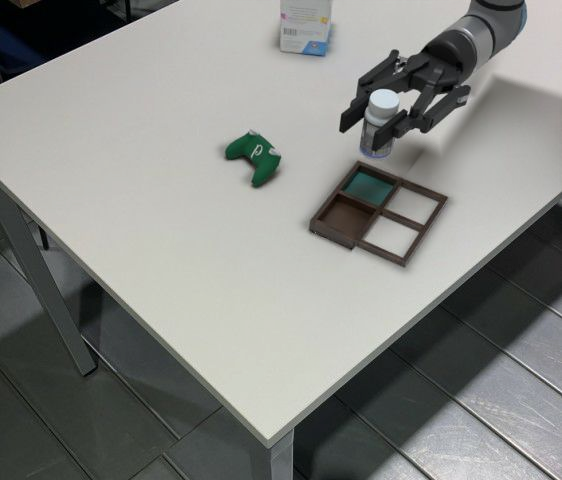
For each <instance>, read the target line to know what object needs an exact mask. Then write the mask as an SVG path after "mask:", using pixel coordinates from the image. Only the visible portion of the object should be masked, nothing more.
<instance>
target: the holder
mask: <svg viewBox="0 0 562 480" xmlns="http://www.w3.org/2000/svg"><path fill="white" fill-rule="evenodd" d="M401 188H405V189H407V190H410V191H412V192H415V193H416V194H420V195H422V196H424V197H426V198H429V199H431V200H434V201H437V202H438V203H437V205H436V206H435V208H434V209H433V211H432V212H431V214H430V216H429V217H428V219H427V220H426V221H425V223H424V224H422V223H420V222H418V221H416V220H413V219H411V218H408V217H406V216H404V215H403V214H399V213H396V212H395V211H392V210H390V209H387V208H388V206H389V205H390V203H391V202H392V200H393V199H394V197H395V196H396V195H397V194H398V192H399V190H400V189H401ZM449 199H450V198H449V196H448V195H444V194H442V193H441V192H438V191H435V190H433V189H430V188H428V187H425V186H423V185H420V184H419V183H415V182H413V181H411V180H409V179H405V178H403V177H400V176H398V175H396V174H393V173H391V172H388V171H386V170H384V169H381V168H378V167H377V166H373V165H371V164H369V163H366V162H365V161H361V160H356V161H355V163H354V164H353V166H351V168H350V169H349V171H348V172H347V173H346V175H344V177H343V178H342V180H341V181H340V182H339V183H338V184H337V186H336V187H335V188H334V190H332V191H331V194H330V195H328V197H327V198H326V200H324V202H323V203H322V204H321V206H320V207H319V208H318V209H317V211H316V212H315V214H313V216H312V217H311V218H310V220H309V224H308V225H309V227H308V231H309V230H311V231H310V232H312V231H313V232H312V233H314V232H316V233H318V234H320V235H319V236H321V235H322V236H321V237H323V236H324V237H323V238H325V237H327V238H329V239H328V240H330V239H331V240H330V241H332V240H333V241H332V242H334V241H336V242H338V243H340V244H339V245H341V244H342V245H341V246H343V245H345V246H347V247H349V248H348V249H350V248H352V249H353V250H354V249H355V248H356V247H358V248H360V249H363V250H365V251H367V252H369V253H371V254H374V255H375V256H378V257H381V258H383V259H385V260H388V261H390V262H392V263H394V264H397V265H398V266H401V267H403V268H405V267H406V266H407V265H408V263H409V261H410V260H411V258H412V257H413V255H414V254H415V252H416V250H417V249H418V247H419V246H420V244H421V243H422V242H423V240H424V239H425V237H426V235H427V233H428V232H429V230H430V229H431V227H432V226H433V224H434V223H435V221H436V220H437V219H438V216H439V215H440V214H441V212H442V210H443V209H444V207H445V206H446V204H447V203H448V201H449ZM380 217H384V218H385V219H389V220H390V221H392V222H394V223H397V224H399V225H403V226H404V227H406V228H409V229H412V230H414V231H416V232H418V234H417V235H416V237H415V238H414V239H413V241H412V243H411V245H410V246H409V248H408V249H407V251H406V252H405V254H404V255H403V256H401V255H399V254H396V253H393V252H392V251H389V250H387V249H384V248H382V247H380V246H377V244H373V243H372V242H369V241H367V240H365V238H366V237H367V235H368V234H369V233H370V231H371V230H372V228H373V227H374V226H375V224H376V223H377V221H378V220H379V219H380ZM316 233H315V234H316ZM318 234H317V235H318ZM327 238H326V239H327ZM336 242H335V243H336ZM338 243H337V244H338ZM345 246H344V247H345ZM347 247H346V248H347ZM352 249H351V250H352Z"/></svg>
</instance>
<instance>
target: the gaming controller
mask: <svg viewBox="0 0 562 480" xmlns="http://www.w3.org/2000/svg"><path fill="white" fill-rule="evenodd" d="M224 154H225V156H226V158H227V159H229V160H231V159H236V158H238V157H241V156H243V155H245V156H246V157H247V158H248V159H249V160H250V161H251V162H252V163H253V164H254V165H255V166H256V169H255V171H254V172H253V176H252V178H251V180H250V182H251V183H252V184H253V185H254V186H255V187H257V186H259V185H261V184H262V183H264V182H265V181H266V180H268V179H269V178H270V177H271V176H272V175H273V174H274V173H275V172H276V170H277V169H278V167H279V166H280V162H281V159H282V155H281V152H280V151H279V150H278V149H276V147H274V145H273V144H271V143H270V142H269V141H268V139H266V138H265V137H264V136H262V135H261V133H260V132H259V131H257V130H256V129H254V128H249V131H248V132H246V133H245V134H244V135H242V136H240V137H238V138H236V139H235V140H233V141H232V142H230V143H229V144H228V145H227V146H226V148H225V151H224Z"/></svg>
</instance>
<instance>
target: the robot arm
mask: <svg viewBox="0 0 562 480" xmlns="http://www.w3.org/2000/svg"><path fill="white" fill-rule="evenodd" d="M527 20H528V7H527V3H526V0H470V3H469V6H468V10H467V11H466V13H465V14H464V15H463V16H461V17H460V18H459V19H457V20H456V21H455V22H453V23H452V24H450V25H449V26H448V27H446V28H445V29H443V31H441V32H440V33H439V34H438V35H436V36H435V37H434V38H432V39H431V40H430V41H428V42H427V43H426V44H425V45H424V46H423V48H422V49H420V51H419V52H418V53H415V54H411V55H410V56H409V57H405V56H401V55H400V51H399V50H398V49H396V48H393V49H392V50H390V52H389V54H388V56H387V57H386V58H384V59H383V60H382V61H380V62H379V63H378V64H376V65H375V66H374V67H373V68H371V69H370V70H369V71H367V72H366V73H365V74H363V75H362V76H360V77H359V78H358V79H357V86H356V94H355V98H353V99H352V100H351V101H350V104H349V107H348V108H347V109H345V110H344V111H342V113H340V120H339V127H338V132H339V133H341V134H345V133H346V132H348V131H349V130H350V129H351V128H353V127H354V126H355V125H357V123H359V122H361V120H364V114H365V110H366V108H367V107H368V106H369V99H370V96H371V94H372V93H373V92H374V91H376V90H379V89H387V90H391V91H393V92H395V93H396V94H397V95H398V94H400V93H402V92H403V93H404V94H407V93H408V92H411V91H418V92H419V95H418V97H417V99H416V100H415V102H414V103H413V104H412V105H411V104H410V108H409V110H407V109H405V108H403V109H401V110H400V111H399V113H398V114H396V115H395V116H394V117H393V118H391V119H390V120H389V121H388V122H386V123H385V124H384V125H383V126H382V127H380V128H379V129H378V130H377V131H375V132H374V137H373V143H372V148H371V150H373V151H374V152H377V151H378V150H379V149H380V148H381V147H383V146H384V145H385V144H386V143H387V142H389V141H390V140H391V139H392V138H393V137H395V139H397V140H399V139H401V138H403V137H404V136H405V135H406V134H407V133H409V132H410V131H414V130H415V129H417V130H419V132H420V133H421V134H425V135H426V134H428V133H430V132H431V131H432V130H433V129H434V128H436V127H437V125H439V124H440V123H441V122H442V121H443V120H444V119H445V118H447V117H448V116H449V115H450V114H451V113H452V112H453V111H454V110H456V109H458V108H462V107H464V106H466V105H467V103H468V99H469V96H470V93H471V90H472V86H470V85H468V84H464V83H465V82H466V81H467V80H469V78H470V77H471V76H473V75H474V74H475V73H477V72H478V70H480V69H481V68H482V67H484V66H485V65H486V64H487V63H488V62H489V61H490V60H492V58H494V57H496V55H497V54H499V53H500V52H501V51H503V50H505V49H506V48H508V47H509V46H510V45H512V43H513V42H514V41H515V40H516V39H517V37H519V35H520V34H521V32H522V31H523V30H524V28H525V26H526V24H527ZM462 84H464V85H462ZM438 95H439V96H440V95H444V96H443V97H442V98H441V99H440V100H438V101H437V102H436V103H435V104H434V105H432V103H433V101H434V100H435V99H436V97H438ZM430 105H432V106H431V107H430V108H429V106H430ZM428 108H429V109H428Z"/></svg>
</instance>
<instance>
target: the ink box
mask: <svg viewBox="0 0 562 480" xmlns="http://www.w3.org/2000/svg"><path fill="white" fill-rule="evenodd" d="M279 1H280V2H279V3H280V6H279V7H280V11H279V12H280V17H279V18H280V26H279V27H280V33H279V34H280V38H279V39H280V40H279V42H280V43H279V44H280V49H279V50H280V51H281V52H283V53H284V52H285V53H294V54H302V55H303V54H304V55H312V56H313V55H314V56H323V57H325V56H326V54H327V49H328V44H329V40H330V34H331V26H332V14H333V1H334V0H279Z"/></svg>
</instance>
